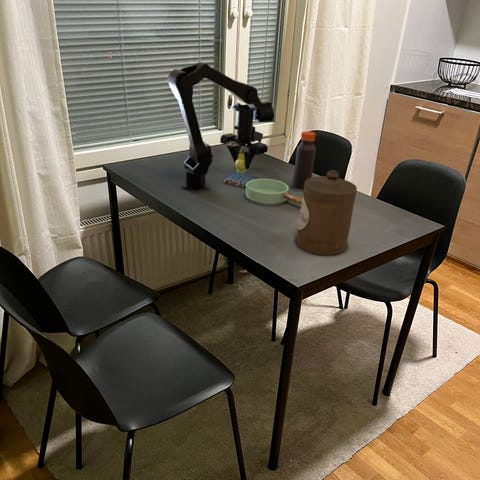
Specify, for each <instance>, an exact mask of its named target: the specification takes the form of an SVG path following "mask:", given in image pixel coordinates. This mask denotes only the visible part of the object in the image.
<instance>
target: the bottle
mask: <svg viewBox="0 0 480 480" xmlns="http://www.w3.org/2000/svg"><path fill="white" fill-rule="evenodd" d="M300 141H301V142H300V143H299V144H298V145H297V146H296V153H295V163H294V170H293V176H292V177H293V178H292V184H291V185H292V188H293V189H296V190H299V191H300V190H301V191H304V184H305V181H306V180H307V179H309V178H312V177H313V172H314V166H315V165H314V164H315V158H316V151H317V147H316V146H315V145H314V143H315V141H316V133H315V132H313V131H308V130H307V131H302V132H301V135H300Z"/></svg>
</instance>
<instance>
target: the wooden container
mask: <svg viewBox="0 0 480 480" xmlns="http://www.w3.org/2000/svg"><path fill="white" fill-rule="evenodd" d="M357 189H358V188H357V185H356V184H354V183H353V182H351V181H349V180H347V179H343V178H340V174H339V172H337V170H335V169H331V170H329V171H327V172H326V176H323V175H321V176H320V175H319V176H312V178H309V179H307V180H306V181H305V184H304V190H302V191H303V192H302V193H303V194H302V205H301V204H300V206H301V207H300V212H299V218H298V226H297V234H296V244H297V245H298V247H300V248H301V249H302V250H304V251H306V252H308V253H312V254H316V255H320V256H321V255H322V256H331V255H337V254H340V253H343V252H344V251H345V250H346V248H347V244H348V239H349V234H350V230H351V224H352V218H353V211H354V205H355V202H356V201H355V200H356V196H357Z"/></svg>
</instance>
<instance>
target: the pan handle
mask: <svg viewBox="0 0 480 480" xmlns="http://www.w3.org/2000/svg"><path fill="white" fill-rule="evenodd" d="M283 197H284V198H285V199H287V201H290V202H293V203H295V204H298V205H300V206H301V205H302V199H303V197H300V196H297V195H294V194H292V193H289V192H288V193H284V194H283Z"/></svg>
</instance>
